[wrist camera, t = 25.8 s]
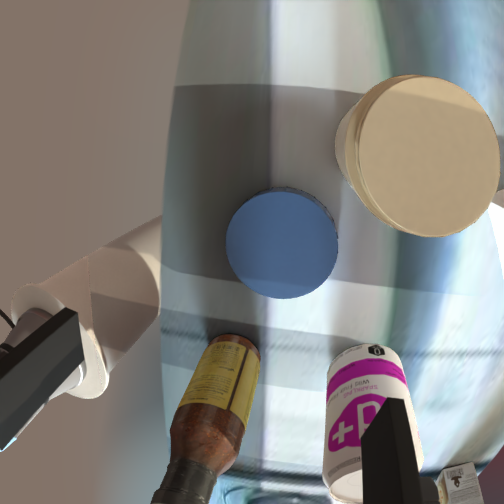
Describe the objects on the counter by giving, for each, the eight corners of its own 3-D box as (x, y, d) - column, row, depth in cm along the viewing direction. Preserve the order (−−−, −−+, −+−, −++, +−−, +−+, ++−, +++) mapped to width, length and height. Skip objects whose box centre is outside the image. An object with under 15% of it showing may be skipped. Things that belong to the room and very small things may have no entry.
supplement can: (318, 351, 32) (308, 473, 18) (395, 330, 29) (426, 449, 15) (336, 401, 34) (332, 512, 20) (404, 384, 31) (425, 494, 17)
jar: (324, 186, 26) (329, 220, 15) (345, 84, 23) (365, 43, 12) (420, 213, 25) (480, 263, 14) (443, 116, 22) (518, 107, 11)
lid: (216, 205, 29) (208, 211, 26) (318, 172, 26) (319, 175, 24) (252, 297, 31) (247, 309, 29) (348, 273, 28) (350, 284, 26)
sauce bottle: (197, 352, 35) (115, 495, 16) (229, 320, 32) (145, 484, 14) (242, 384, 35) (188, 533, 17) (277, 356, 33) (233, 527, 14)
